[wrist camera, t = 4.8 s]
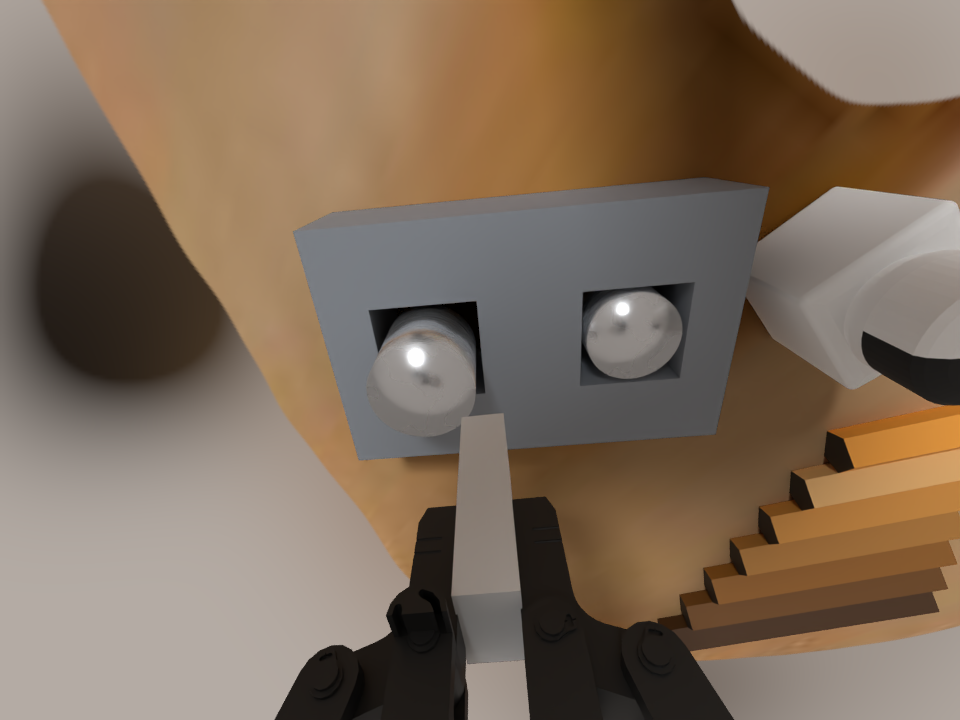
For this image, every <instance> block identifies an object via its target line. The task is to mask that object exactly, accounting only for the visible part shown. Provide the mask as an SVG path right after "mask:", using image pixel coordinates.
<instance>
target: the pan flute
mask: <svg viewBox="0 0 960 720" xmlns="http://www.w3.org/2000/svg"><path fill="white" fill-rule="evenodd" d="M824 456H825V457H826V458H827V459H828V461H829V462H830V463H828V464H823V465H818V466H813V467H808V468H803V469H798V470H793V471H791V479H790V492H789V493H790V494H791V496H792V497H793V499H794V500H790V501H785V502H780V503H775V504H770V505H765V506H760V507H759V518H758V527H759V528H760V530H761V532H762V533H758V534H753V535H748V536H742V537H737V538H732V539H730V557H731V559H732V561H733V563H728V564H723V565H717V566H712V567H706V568H703V569H704V584H705V587H706V589H707V590H703V591H697V592H691V593H686V594H680V605H681V611H682V613H683V615H677V616H671V617H665V618H660V619H658V624H662V625H664V626H665V627H667V628H668V629H670V630H672V631H673V632H675V633H676V635H677V636H678V637H679V638H680V639H681V640H682V641H683V643H684V644H685V645H686V647H687V648H688V650H689V651H695V650H701V649H707V648H714V647H720V646H726V645H733V644H739V643H745V642H752V641H758V640H764V639H771V638H777V637H783V636H790V635H796V634H802V633H809V632H815V631H821V630H828V629H834V628H840V627H847V626H853V625H859V624H866V623H872V622H878V621H885V620H891V619H897V618H904V617H910V616H916V615H923V614H929V613H935V612H939V609H938V607H937V604H936V601H935V599H934V596H933V593H932V592H933V591H939V590H945V589H948V587H947V585H946V582H945V580H944V577H943V574H942V572H941V569H940V567H944V566H950V565H955V564H957V562H956V559H955V556H954V554H953V551H952V549H951V546H950V544H949V541H948V540H954V539H959V538H960V516H959V514H958V511H960V405H957V406H950V405H947V406H942V407H938V408H933V409H928V410H924V411H919V412H914V413H910V414H905V415H900V416H896V417H891V418H886V419H881V420H877V421H872V422H867V423H863V424H858V425H853V426H849V427H844V428H839V429H834V430H830V431H827V437H826V445H825V453H824Z"/></svg>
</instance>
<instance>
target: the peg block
mask: <svg viewBox="0 0 960 720" xmlns="http://www.w3.org/2000/svg"><path fill="white" fill-rule="evenodd" d="M768 191H769V187H765V186H759V185H752V184H746V183H739V182H733V181H726V180H720V179H714V178H707V177H702V178H691V179H681V180H670V181H660V182H649V183H638V184H628V185H617V186H607V187H596V188H586V189H575V190H564V191H554V192H543V193H533V194H522V195H512V196H501V197H490V198H480V199H469V200H459V201H448V202H438V203H427V204H416V205H406V206H395V207H385V208H374V209H364V210H353V211H342V212H332V213H330V214H328V215H326V216H324V217H322V218H320V219H318V220H316V221H314V222H312V223H310V224H308V225H306V226H303V227H301V228H299V229H297V230H295V231H293V233H294V237H295V240H296V244H297V247H298V251H299V254H300V258H301V261H302V264H303V268H304V271H305V275H306V278H307V282H308V285H309V289H310V292H311V296H312V299H313V303H314V306H315V310H316V313H317V316H318V320H319V323H320V327H321V330H322V334H323V337H324V341H325V344H326V348H327V351H328V355H329V358H330V362H331V365H332V368H333V372H334V375H335V379H336V382H337V386H338V389H339V393H340V396H341V400H342V403H343V407H344V410H345V414H346V417H347V421H348V424H349V427H350V431H351V434H352V438H353V441H354V445H355V448H356V452H357V455H358V459H359V460H372V459H385V458H399V457H413V456H426V455H440V454H454V453H459V452H460V434H461V425H459V426H458V427H457V428H455V429H453V430H451V431H449V432H447V433H445V434H442V435H437V436H431V437H417V436H411V435H407V434H404V433H401V432H399V431H396V430H394V429H393V428H391V427H389V426H388V425H386V424H385V423H384V422H383V421H382V420H380V418H379V417H378V416H377V415H376V414H375V412H374V411H373V409H372V407H371V405H370V403H369V400H368V397H367V390H366V385H367V379H368V375H369V373H370V370H371V368H372V366H373V364H374V362H375V360H376V358H377V355H378V353H379V351H380V349H381V347H382V345H383V343H384V340H385V338H386V336H387V334H388V332H389V330H390V328H391V326H392V324H393V322H394V321H395V319H396V318H397V317H398V316H397V311H396V308H400V307H412V306H424V305H435V304H447V303H459V302H470V301H477V311H478V322H479V332H480V342H481V348H476V396H475V403H474V406H473V409H472V411H471V413H470V414H469V416H478V415H489V414H499V413H503V414H504V423H505V432H506V441H507V450H509V449H522V448H536V447H550V446H564V445H577V444H591V443H605V442H618V441H632V440H646V439H660V438H673V437H687V436H701V435H714V434H716V430H717V426H718V421H719V416H720V412H721V407H722V403H723V398H724V393H725V389H726V384H727V380H728V375H729V370H730V366H731V361H732V357H733V352H734V348H735V343H736V338H737V334H738V329H739V325H740V320H741V315H742V311H743V306H744V302H745V297H746V292H747V288H748V283H749V279H750V274H751V269H752V265H753V260H754V256H755V251H756V246H757V242H758V237H759V233H760V228H761V224H762V219H763V214H764V210H765V205H766V201H767V196H768ZM645 286H651V287H652V288H654V289H655V290H656V291H657V292H658V293H660V294H661V295H662V296H663V297H664V298H666V299H667V300H668V301H669V302H670V303H672V304H673V305H674V307H675V308H676V309H677V311H678V312H679V315H680V317H681V321H682V337H681V341H680V344H679V346H678V348H677V350H676V352H675V353H674V355H673V356H672V357H671V358H670V360H669V361H668V362H667V363H665V364H664V365H663V366H662V367H661V368H659V369H658V370H656V371H654V372H652V373H650V374H648V375H645V376H642V377H638V378H632V379H622V378H616V377H612V376H609V375H607V374H605V373H603V372H602V371H601V370H599V369H598V368H597V367H596V366H595V364H594V363H593V362H592V360H591V358H590V356H589V354H588V352H587V350H586V348H585V347H584V345H583V343H582V341H581V335H582V299H583V292H587V291H599V290H610V289H622V288H633V287H645Z"/></svg>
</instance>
